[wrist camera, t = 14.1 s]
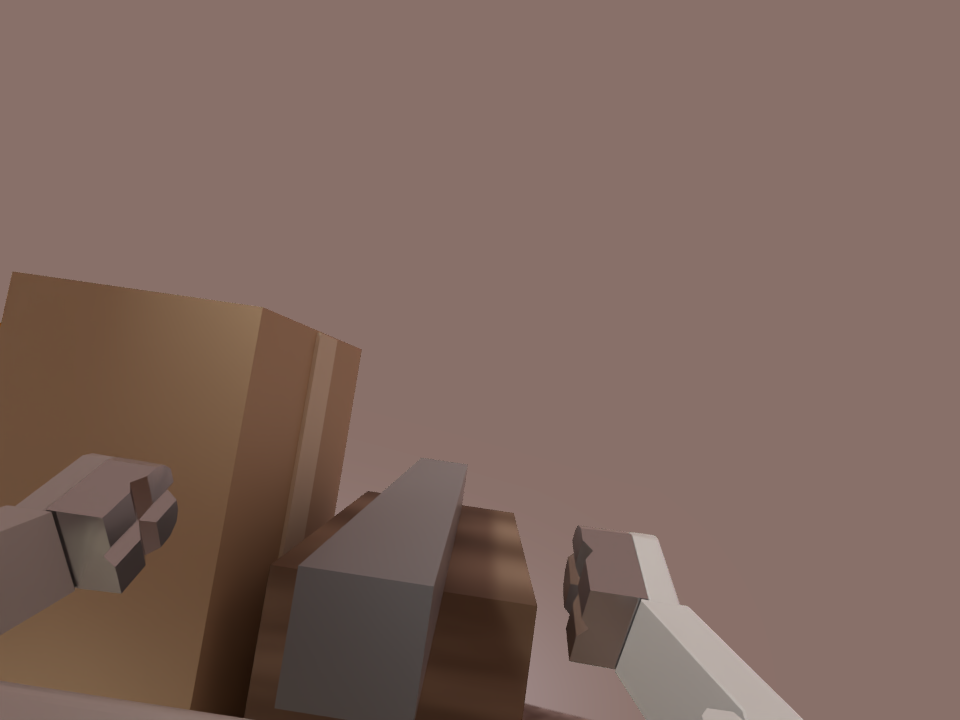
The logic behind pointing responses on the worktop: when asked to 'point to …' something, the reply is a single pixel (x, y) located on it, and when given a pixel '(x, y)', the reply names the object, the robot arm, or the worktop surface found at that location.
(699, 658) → the robot arm
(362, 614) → the grey square rod
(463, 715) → the walnut crate
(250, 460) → the parcel box
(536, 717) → the worktop surface
